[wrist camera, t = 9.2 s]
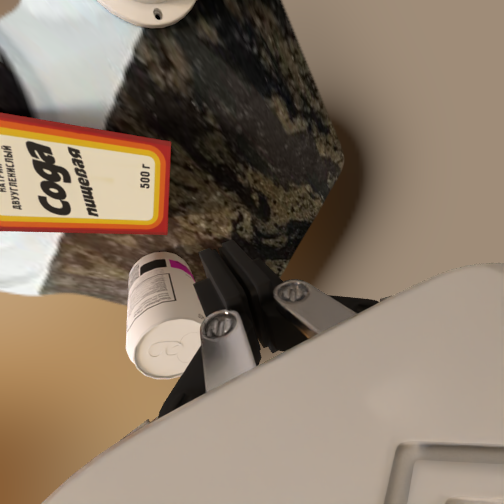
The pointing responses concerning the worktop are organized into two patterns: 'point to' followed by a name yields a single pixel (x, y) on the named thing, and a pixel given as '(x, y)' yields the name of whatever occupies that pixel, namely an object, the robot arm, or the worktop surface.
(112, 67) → the worktop surface
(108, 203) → the baking soda box
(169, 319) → the supplement can
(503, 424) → the robot arm
